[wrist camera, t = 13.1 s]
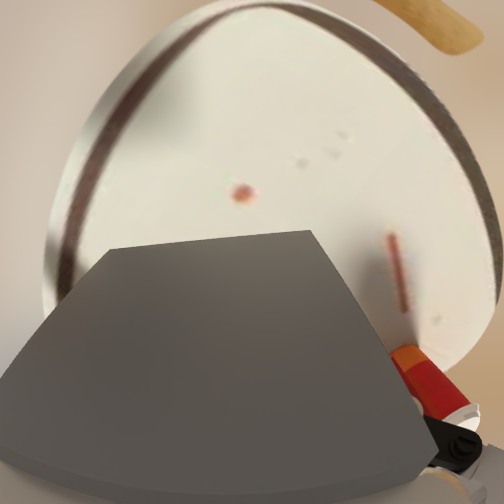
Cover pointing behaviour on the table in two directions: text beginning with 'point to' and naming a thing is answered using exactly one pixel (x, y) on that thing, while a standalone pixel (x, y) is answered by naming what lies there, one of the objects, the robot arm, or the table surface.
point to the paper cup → (434, 389)
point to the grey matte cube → (212, 382)
